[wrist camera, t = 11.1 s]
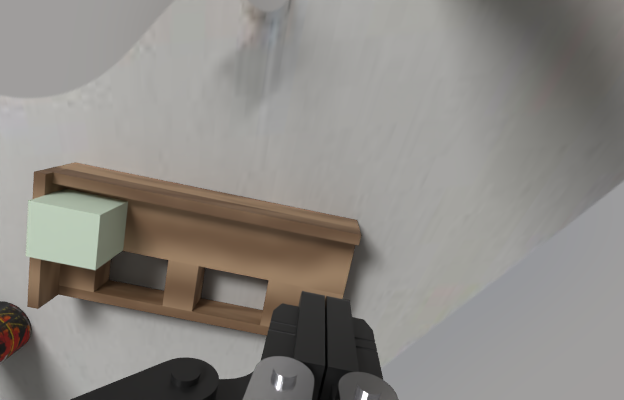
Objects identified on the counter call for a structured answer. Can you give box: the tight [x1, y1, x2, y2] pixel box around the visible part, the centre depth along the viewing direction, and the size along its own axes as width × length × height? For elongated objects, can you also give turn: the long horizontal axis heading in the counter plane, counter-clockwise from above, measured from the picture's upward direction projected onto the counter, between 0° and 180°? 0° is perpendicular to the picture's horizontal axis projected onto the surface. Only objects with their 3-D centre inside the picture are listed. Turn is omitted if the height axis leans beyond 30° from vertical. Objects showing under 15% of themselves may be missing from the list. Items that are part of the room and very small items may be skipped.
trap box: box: [27, 163, 361, 336], centre depth 40 cm, size 13×29×6 cm, turn 78°
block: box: [26, 189, 128, 270], centre depth 37 cm, size 5×6×5 cm
